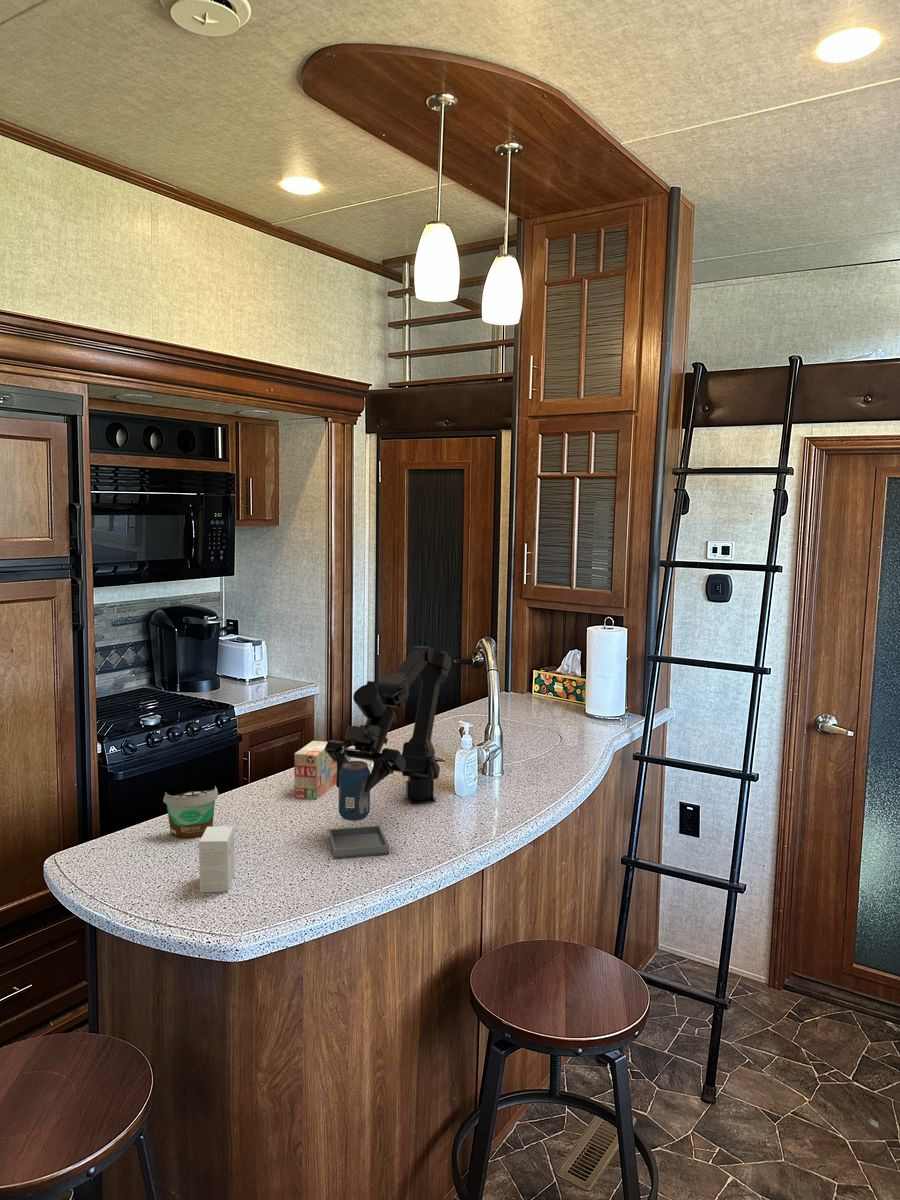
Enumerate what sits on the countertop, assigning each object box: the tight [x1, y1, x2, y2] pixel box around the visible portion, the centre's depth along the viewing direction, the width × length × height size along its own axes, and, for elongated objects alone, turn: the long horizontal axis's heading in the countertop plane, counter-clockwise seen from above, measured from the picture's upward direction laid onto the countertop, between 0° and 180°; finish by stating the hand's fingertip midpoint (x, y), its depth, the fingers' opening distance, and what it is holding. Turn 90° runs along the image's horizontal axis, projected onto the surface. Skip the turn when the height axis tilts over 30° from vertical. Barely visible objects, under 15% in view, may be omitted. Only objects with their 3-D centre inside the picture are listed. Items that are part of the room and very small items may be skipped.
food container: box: [163, 785, 219, 840], centre depth 191 cm, size 12×6×10 cm, turn 117°
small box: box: [198, 825, 236, 893], centre depth 166 cm, size 8×6×10 cm
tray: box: [327, 824, 390, 860], centre depth 187 cm, size 12×12×2 cm
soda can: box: [338, 760, 371, 822], centre depth 186 cm, size 7×7×12 cm
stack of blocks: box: [294, 740, 337, 801], centre depth 226 cm, size 21×6×12 cm, turn 167°
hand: (351, 789), depth 185 cm, fingers closed on soda can, 7 cm apart
